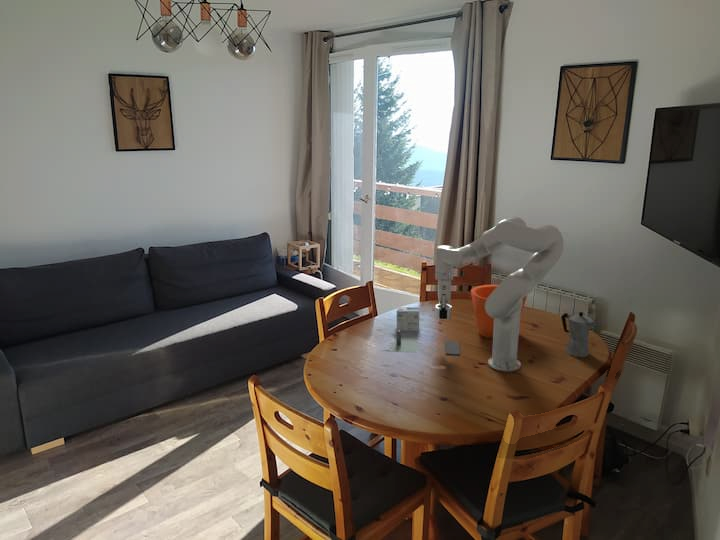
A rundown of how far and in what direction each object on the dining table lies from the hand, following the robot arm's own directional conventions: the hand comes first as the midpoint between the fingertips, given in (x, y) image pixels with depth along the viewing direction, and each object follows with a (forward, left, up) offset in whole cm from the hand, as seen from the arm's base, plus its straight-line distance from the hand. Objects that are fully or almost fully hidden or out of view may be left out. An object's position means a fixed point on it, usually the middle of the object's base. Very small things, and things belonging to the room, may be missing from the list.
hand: (442, 315), depth 219 cm
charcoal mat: (0, 0, -15) cm, 15 cm away
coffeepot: (+1, -55, -15) cm, 57 cm away
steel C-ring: (0, 0, -1) cm, 1 cm away
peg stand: (0, +19, -15) cm, 24 cm away
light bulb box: (+20, +16, -15) cm, 30 cm away
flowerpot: (+20, -25, -15) cm, 35 cm away
